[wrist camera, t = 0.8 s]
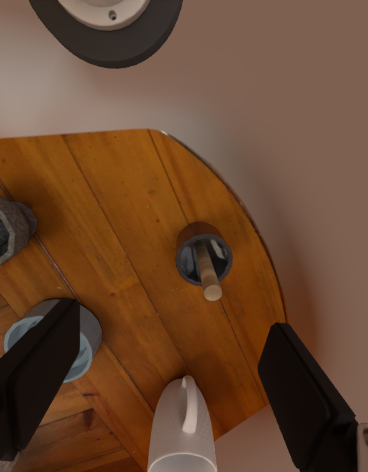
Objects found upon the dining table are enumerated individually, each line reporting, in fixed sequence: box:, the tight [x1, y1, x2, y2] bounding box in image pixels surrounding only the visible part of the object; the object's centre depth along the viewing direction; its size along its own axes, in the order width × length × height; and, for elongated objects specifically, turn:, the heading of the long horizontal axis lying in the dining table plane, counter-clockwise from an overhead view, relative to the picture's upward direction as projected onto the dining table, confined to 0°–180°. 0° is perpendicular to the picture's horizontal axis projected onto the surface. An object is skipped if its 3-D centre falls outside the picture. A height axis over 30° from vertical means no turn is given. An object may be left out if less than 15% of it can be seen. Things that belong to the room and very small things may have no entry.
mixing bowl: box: [4, 299, 102, 383], centre depth 36 cm, size 14×14×5 cm
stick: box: [194, 240, 222, 301], centre depth 26 cm, size 2×2×14 cm
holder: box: [176, 222, 233, 286], centre depth 30 cm, size 8×8×7 cm
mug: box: [147, 375, 217, 472], centre depth 37 cm, size 15×11×13 cm
